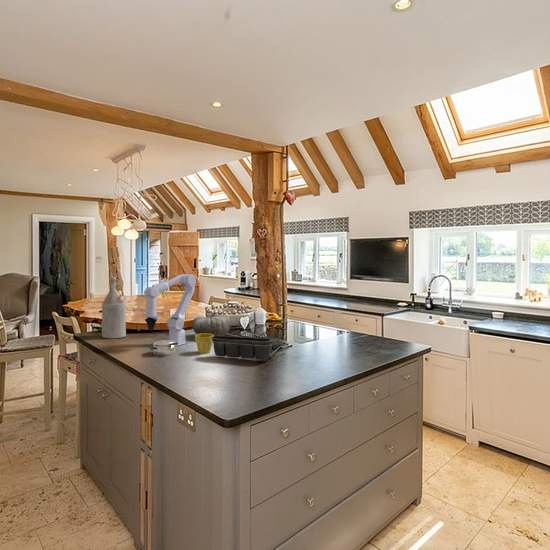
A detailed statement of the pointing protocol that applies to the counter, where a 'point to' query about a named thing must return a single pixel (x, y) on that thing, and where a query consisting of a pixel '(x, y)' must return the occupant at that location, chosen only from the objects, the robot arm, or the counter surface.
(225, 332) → the gourd
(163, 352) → the cooker pot
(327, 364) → the counter surface
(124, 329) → the grey bottle
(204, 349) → the plant pot
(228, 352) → the dish rack
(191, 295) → the robot arm
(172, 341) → the cooker lid
